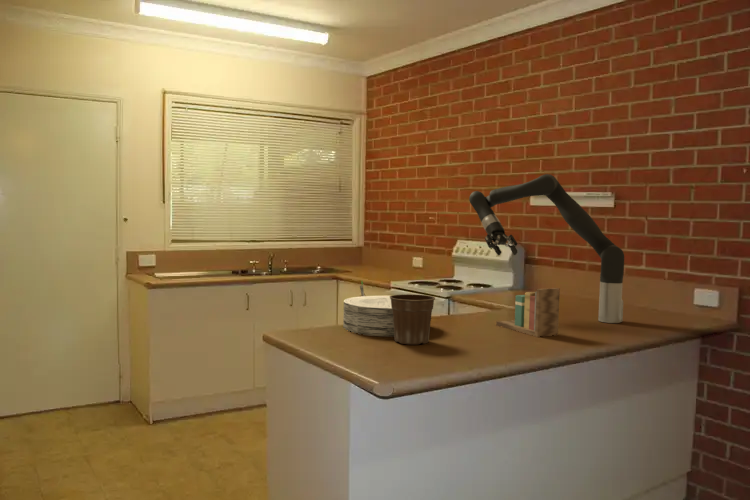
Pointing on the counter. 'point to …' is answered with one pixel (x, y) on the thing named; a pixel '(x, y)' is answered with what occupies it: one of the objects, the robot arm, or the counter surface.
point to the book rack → (538, 313)
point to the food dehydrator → (369, 315)
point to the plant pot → (412, 318)
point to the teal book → (519, 310)
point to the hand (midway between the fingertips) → (507, 253)
